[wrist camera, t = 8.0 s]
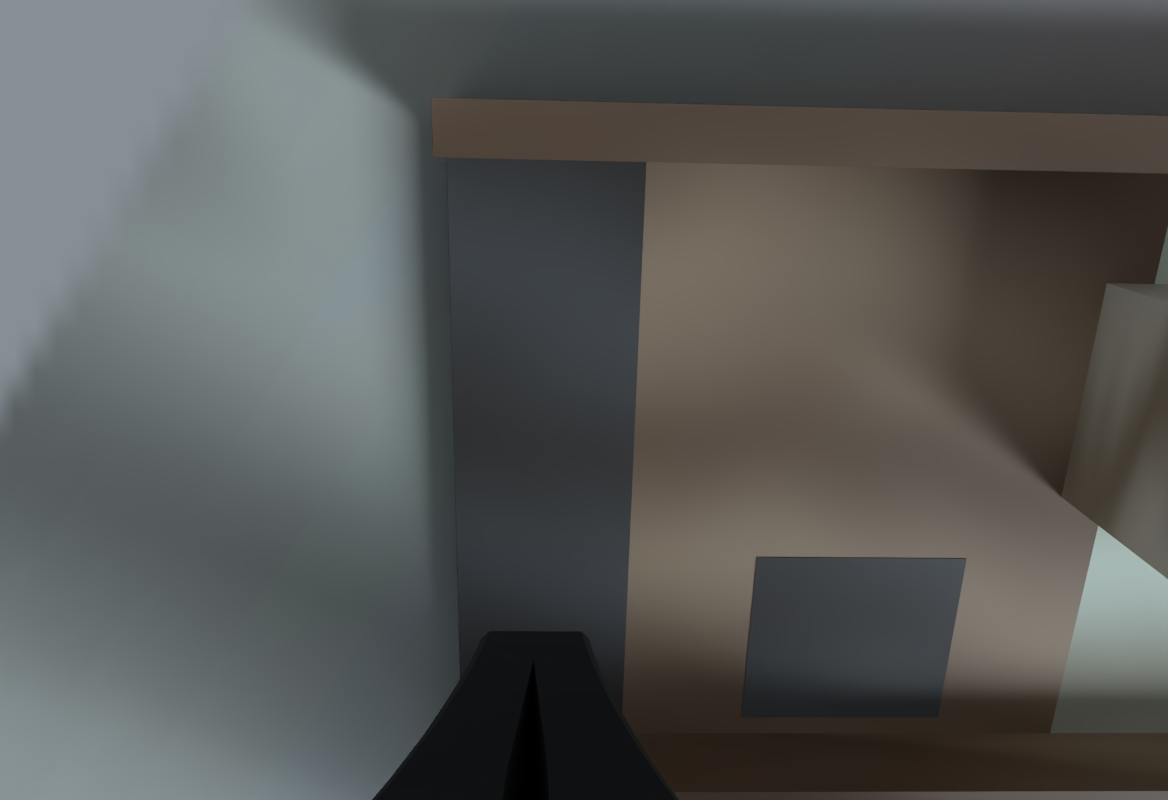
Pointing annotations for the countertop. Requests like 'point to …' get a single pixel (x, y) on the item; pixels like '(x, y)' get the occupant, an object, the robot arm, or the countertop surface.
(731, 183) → the wooden tray
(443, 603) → the countertop surface
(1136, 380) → the cream cube
